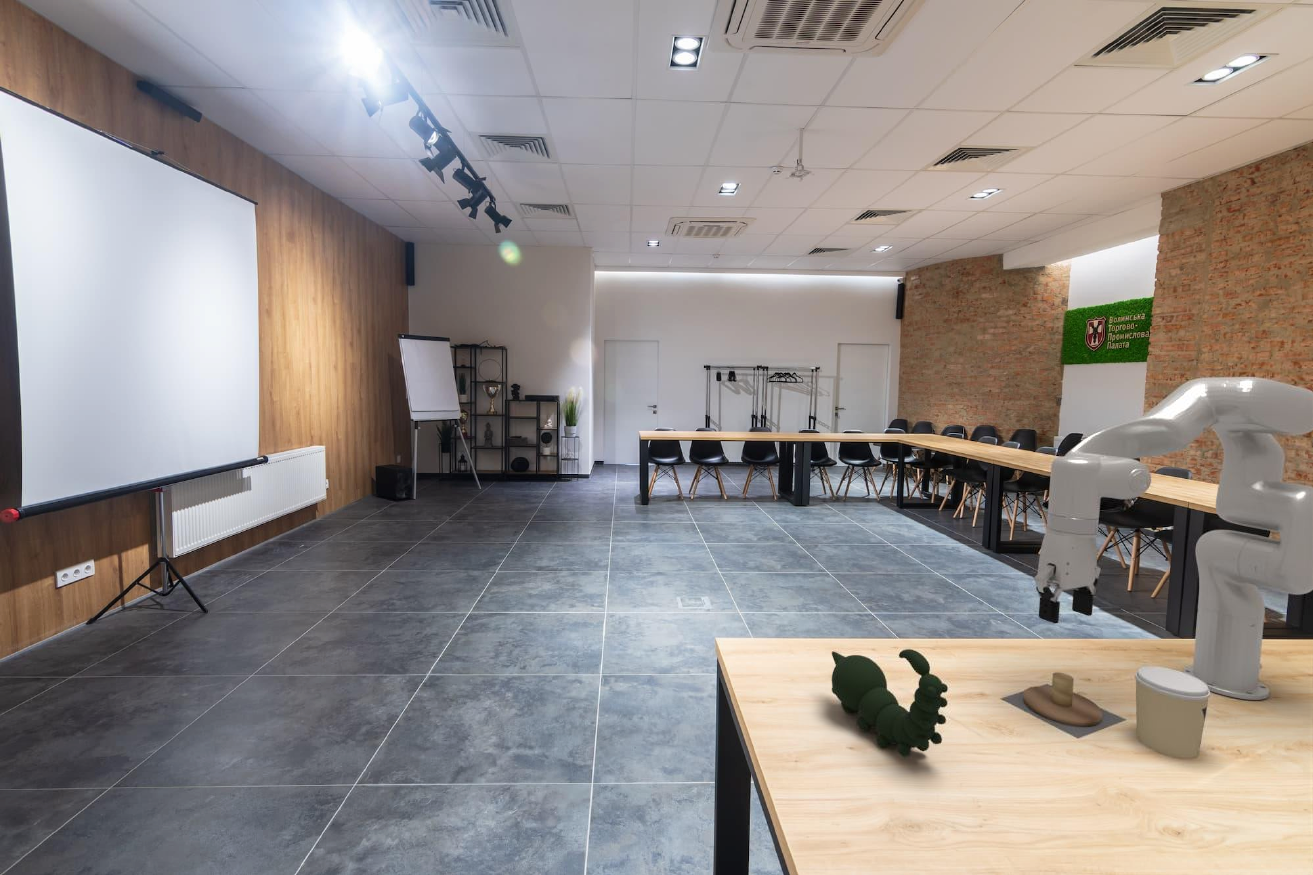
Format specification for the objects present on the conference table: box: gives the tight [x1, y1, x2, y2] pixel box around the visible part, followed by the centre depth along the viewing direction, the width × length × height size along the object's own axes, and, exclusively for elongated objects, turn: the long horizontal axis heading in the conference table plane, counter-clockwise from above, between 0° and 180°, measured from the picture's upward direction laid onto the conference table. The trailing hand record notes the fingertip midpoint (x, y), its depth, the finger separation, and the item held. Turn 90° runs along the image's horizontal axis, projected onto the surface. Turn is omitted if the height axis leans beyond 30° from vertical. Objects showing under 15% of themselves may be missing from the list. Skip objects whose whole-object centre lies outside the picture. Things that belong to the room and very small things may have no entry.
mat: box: [1000, 683, 1127, 739], centre depth 108 cm, size 14×14×1 cm
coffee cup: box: [1134, 665, 1211, 760], centre depth 97 cm, size 9×9×12 cm
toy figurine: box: [831, 648, 949, 757], centre depth 101 cm, size 9×19×25 cm
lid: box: [1023, 671, 1102, 727], centre depth 108 cm, size 12×12×6 cm
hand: (1065, 616), depth 107 cm, fingers open, 9 cm apart
